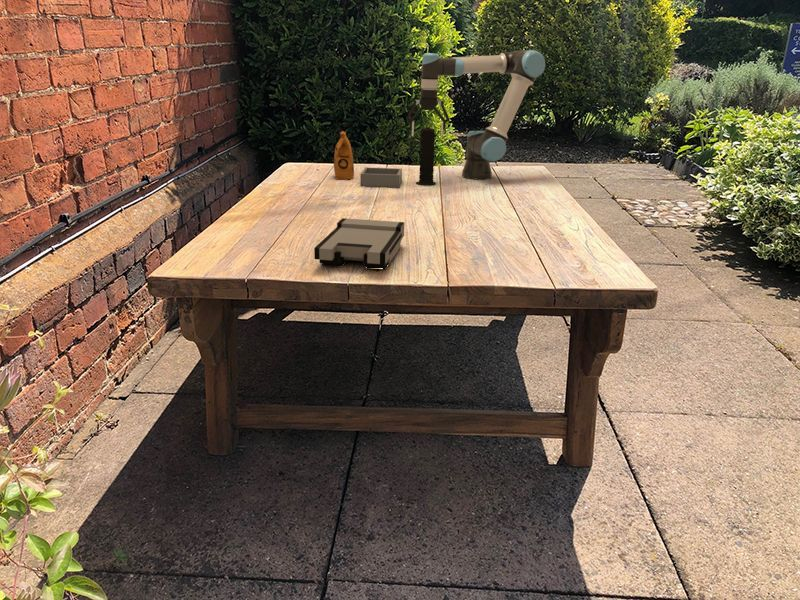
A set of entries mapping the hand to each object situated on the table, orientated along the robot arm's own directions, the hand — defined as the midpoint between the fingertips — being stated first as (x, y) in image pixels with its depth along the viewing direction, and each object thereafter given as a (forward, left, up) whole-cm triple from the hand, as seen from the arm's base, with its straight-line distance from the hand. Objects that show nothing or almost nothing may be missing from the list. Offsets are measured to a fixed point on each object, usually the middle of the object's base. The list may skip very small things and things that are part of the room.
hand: (427, 136), depth 316 cm
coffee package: (+41, -8, -22) cm, 47 cm away
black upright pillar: (0, 0, -22) cm, 22 cm away
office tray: (+15, +124, -23) cm, 127 cm away
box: (+21, +4, -22) cm, 31 cm away
